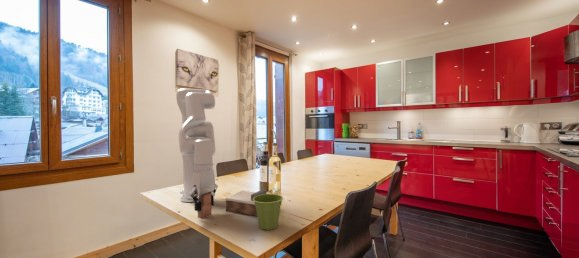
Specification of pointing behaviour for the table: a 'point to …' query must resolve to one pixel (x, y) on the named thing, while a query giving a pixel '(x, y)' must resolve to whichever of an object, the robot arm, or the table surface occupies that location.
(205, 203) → the salmon orange block
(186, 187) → the robot arm
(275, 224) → the plant pot
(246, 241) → the table surface
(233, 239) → the table surface
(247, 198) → the toolbox lid
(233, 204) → the toolbox
